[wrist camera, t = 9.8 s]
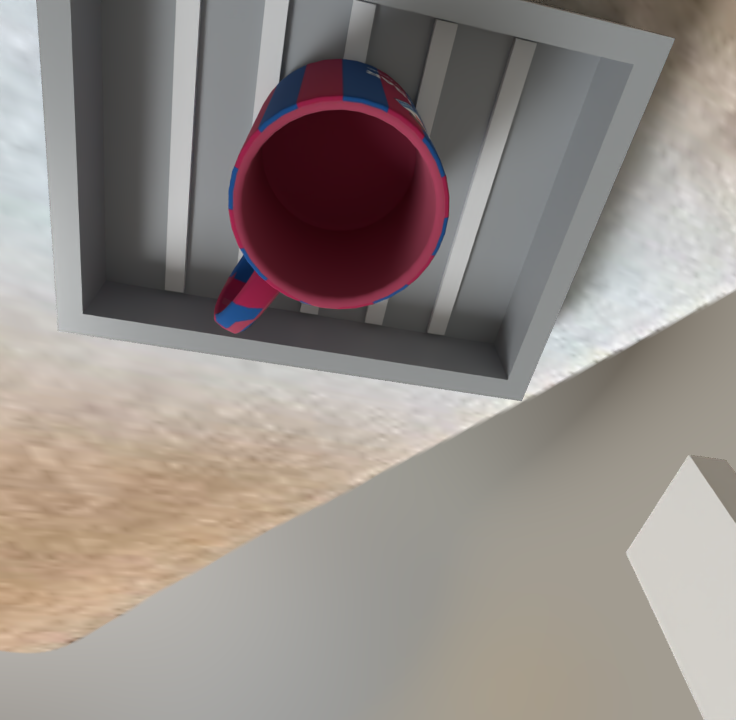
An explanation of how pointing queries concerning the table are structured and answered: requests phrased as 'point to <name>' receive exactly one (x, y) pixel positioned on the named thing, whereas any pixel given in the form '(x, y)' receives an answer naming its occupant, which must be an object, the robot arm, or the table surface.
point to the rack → (234, 121)
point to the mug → (332, 195)
